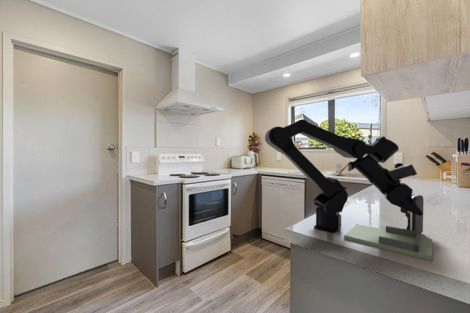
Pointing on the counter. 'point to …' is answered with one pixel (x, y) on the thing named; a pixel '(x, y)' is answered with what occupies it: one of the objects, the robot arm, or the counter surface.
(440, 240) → the counter surface
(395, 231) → the mounting plate
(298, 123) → the robot arm
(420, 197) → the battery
